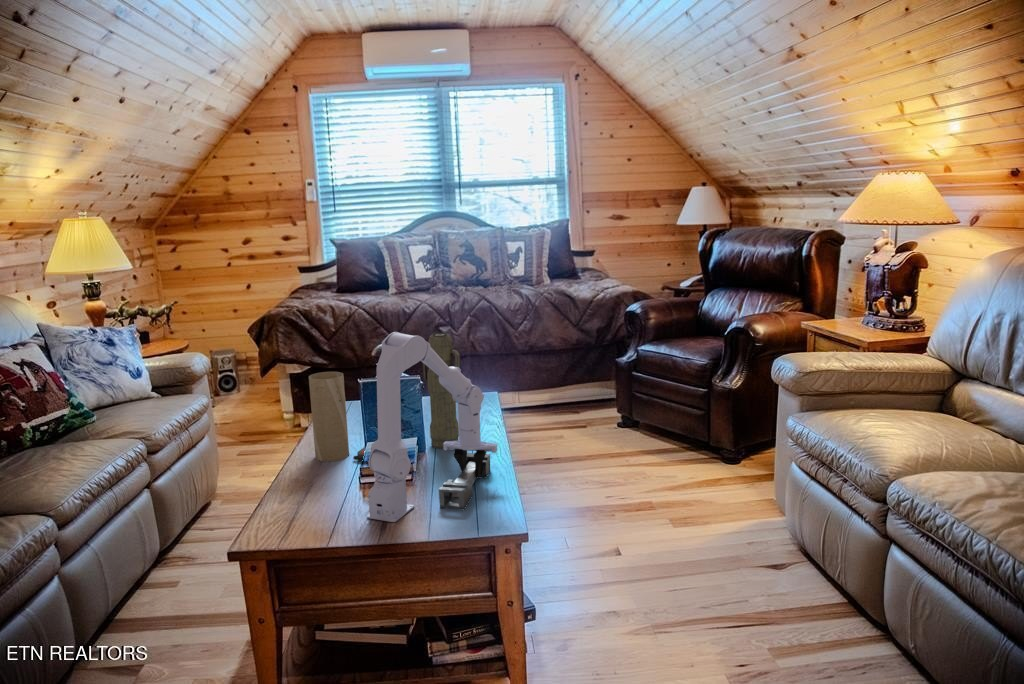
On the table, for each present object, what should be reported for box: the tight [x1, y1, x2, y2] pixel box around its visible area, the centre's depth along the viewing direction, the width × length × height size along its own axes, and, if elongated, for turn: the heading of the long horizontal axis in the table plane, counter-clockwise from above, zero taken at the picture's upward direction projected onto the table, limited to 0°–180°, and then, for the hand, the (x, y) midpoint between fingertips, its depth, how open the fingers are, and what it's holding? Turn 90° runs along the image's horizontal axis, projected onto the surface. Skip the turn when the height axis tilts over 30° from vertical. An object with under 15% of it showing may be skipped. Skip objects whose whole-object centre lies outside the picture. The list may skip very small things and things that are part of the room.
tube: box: [308, 371, 350, 463], centre depth 214 cm, size 10×10×25 cm
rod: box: [452, 460, 482, 497], centre depth 189 cm, size 18×3×3 cm, turn 168°
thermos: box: [422, 332, 461, 450], centre depth 220 cm, size 9×12×35 cm
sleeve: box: [438, 478, 474, 510], centre depth 179 cm, size 8×6×5 cm
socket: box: [467, 452, 491, 477], centre depth 197 cm, size 5×7×5 cm
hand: (471, 476), depth 193 cm, fingers closed on rod, 3 cm apart
